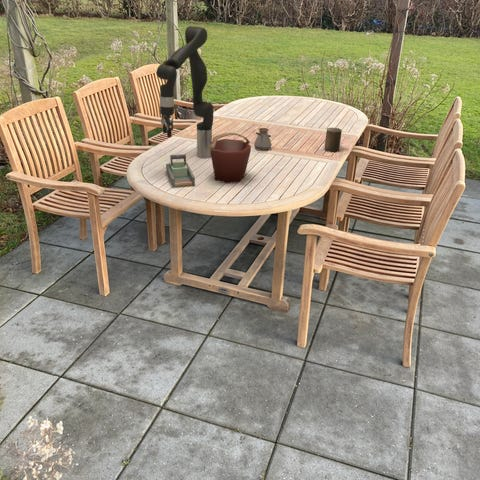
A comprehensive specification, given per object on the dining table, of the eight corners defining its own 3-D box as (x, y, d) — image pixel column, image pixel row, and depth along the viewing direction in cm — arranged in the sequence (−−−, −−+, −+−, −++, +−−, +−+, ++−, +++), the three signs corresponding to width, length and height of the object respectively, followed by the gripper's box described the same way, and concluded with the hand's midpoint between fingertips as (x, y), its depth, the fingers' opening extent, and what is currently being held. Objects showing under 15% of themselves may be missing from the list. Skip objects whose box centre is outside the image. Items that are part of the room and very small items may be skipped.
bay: (187, 170, 290) (186, 162, 287) (194, 185, 270) (194, 177, 268) (166, 171, 287) (165, 163, 284) (172, 187, 267) (172, 179, 265)
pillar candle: (337, 153, 323) (341, 130, 316) (322, 151, 326) (325, 128, 318) (340, 148, 331) (343, 126, 324) (325, 146, 334) (328, 124, 327)
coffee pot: (257, 144, 333) (258, 122, 326) (273, 147, 330) (275, 124, 322) (246, 154, 316) (246, 131, 308) (263, 157, 312) (264, 134, 305)
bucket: (211, 186, 271) (211, 141, 259) (202, 171, 289) (202, 128, 277) (254, 182, 277) (256, 138, 265) (243, 168, 296) (244, 126, 283)
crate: (184, 169, 287) (183, 151, 282) (187, 176, 279) (187, 157, 274) (169, 170, 285) (169, 152, 280) (172, 177, 277) (171, 158, 271)
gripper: (177, 107, 262) (177, 138, 269) (170, 102, 274) (170, 131, 281) (163, 108, 259) (163, 138, 267) (156, 102, 271) (157, 132, 278)
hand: (167, 135), depth 274 cm, fingers open, 8 cm apart
